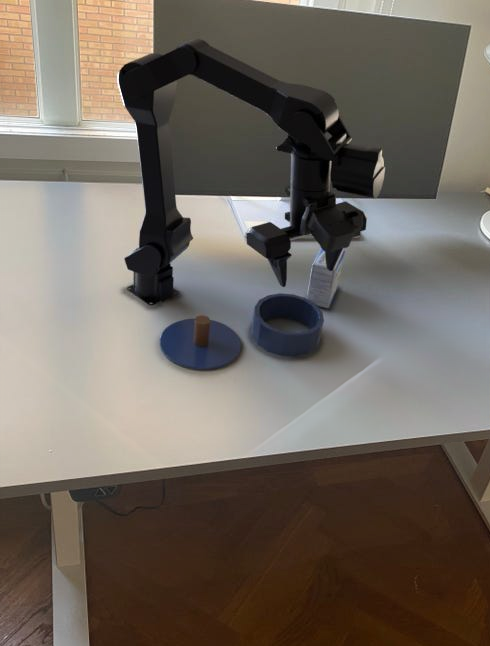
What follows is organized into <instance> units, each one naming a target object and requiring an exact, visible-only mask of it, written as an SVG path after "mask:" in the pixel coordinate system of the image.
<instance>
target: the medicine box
mask: <svg viewBox="0 0 490 646" xmlns="http://www.w3.org/2000/svg"><path fill="white" fill-rule="evenodd" d="M345 254H346V250H345V249H343V250H342V252H341V254H340V256H339V258H338V260H337V263H336V265H335V267H334V269H333V271H329V270H328V269H327V266H326V259H325V251H323V250H322V248H321V247H320V250H319V252H318V254H317V255H316V258H315V259H314V262H313V263H312V264H311V270H310V275H309V282H308V287H307V292H306V299H308V300H310V301H311V302H313V303H315V304H316V305H317V306H318V307H319V308H324V309H330V306H331V303H332V302H333V300H334V297H335V294H336V292H337V290H338V287H339V284H340V283H339V282H340V278H341V274H342V273H341V272H342V268H343V263H344V259H345Z"/></svg>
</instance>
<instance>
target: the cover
mask: <svg viewBox="0 0 490 646" xmlns="http://www.w3.org/2000/svg"><path fill="white" fill-rule="evenodd" d="M159 348H160V351H161V353H162V354H163V355H164V356H165V358H166V359H167V360H169V361H170V362H172V363H173V364H175V365H177V366H179V367H182V368H185V369H189V370H194V371H213V370H218V369H221V368H224V367H226V366H228V365H230V364H231V363H233V362H234V361H235V360H236V359H237V358H238V357H239V355H240V353H241V349H242V343H241V339H240V337H239V335H238V334H237V333H236V331H234V330H233V329H232V328H231V327H230V326H228V325H227V324H224V323H222V322H220V321H217V320H214V319H211V318H210V317H209V316H207V315H203V314H201V315H197V316H196V317H195V318H194V317H192V318H186V319H181V320H178V321H176V322H173V323H171V324H169V325H168V326H167V327H165V328H164V330H163V331H162V332H161V335H160V336H159Z"/></svg>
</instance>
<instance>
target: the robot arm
mask: <svg viewBox="0 0 490 646" xmlns="http://www.w3.org/2000/svg"><path fill="white" fill-rule="evenodd" d="M187 76H192V77H194V78H196V79H198V80H200V81H201V82H204V83H206V84H208V85H209V86H212V87H213V88H216V89H218V90H220V91H222V92H224V93H225V94H227V95H230V96H231V97H234V98H236V99H237V100H239V101H242V102H244V103H245V104H247V105H249V106H251V107H253V108H254V109H255V108H256V109H257V110H259V111H261V112H262V113H264V114H266V115H267V117H269V118H270V119H271V120H272V122H273V123H274V124H275V125H276V127H277V128H278V129H280V130H281V131H282V132H283V133H285V134H287V136H286V137H285V138H284V140H283V141H282V142H281V143H279V144H278V145H277V146H276V147H275V148H276V151H277V152H280V153H286V154H290V185H287V186H285V187H284V194H285V195H287V196H288V197H289V211H286V212H284V220H286V222H288V223H289V226H285V227H282V228H280V227H279V226H277V225H276V224H275V223H273V222H271V221H267V222H264V223H261V224H257V225H253V226H250V227H249V228H248V229H247V231H246V245H247V246H249V247H250V248H251V249H253V250H254V251H255V252H257V253H258V254H260V255H261V256H262V257H264V258H265V259H267V261H268V263H269V265H270V267H271V269H272V271H273V273H274V275H275V278H276V280H277V282H278V284H279V286H281V287H282V288H285V287H286V286H287V279H288V277H287V276H288V260H289V259H290V258H291V257H292V256H293V254H291V253H290V250H291V249H292V241H294V240H298V239H301V238H305V237H308V236H312V237H313V239H314V240H315V241H316V242H317V243H318V245H319V246H320V249H321V248H322V250H323V251H325V259H326V266H327V269H328V270H329V271H333V269H334V267H335V265H336V263H337V260H338V258H339V256H340V254H341V252H342V250H344V249H347V248H349V247H350V245H351V242H352V240H353V239H354V238H356V237H360V236H361V233H362V232H364V231H366V229H367V222H368V218H367V215H366V213H365V212H364V211H363V210H362V209H360V208H358V207H357V206H355V205H353V204H351V203H349V202H348V201H342V202H337V198H336V194H335V193H334V192H332V191H331V190H330V189H331V187H332V189H335V190H336V191H337V192H341V193H346V194H351V195H356V196H359V197H360V196H361V197H365V198H372V199H377V198H378V197H379V196H380V193H381V191H382V188H383V184H384V179H385V172H386V166H385V162H384V161H385V159H384V158H383V156H382V155H383V149H382V147H376V146H364V145H360V144H359V145H358V144H353V143H351V141H352V139H353V138H352V135H351V134H350V132H349V130H348V128H347V127H346V125H345V123H344V122H343V119H342V118H341V116H340V115H339V107H338V105H337V103H336V98H335V97H333V96H332V94H330V93H329V92H327V91H325V90H321V89H318V88H316V87H312V86H309V85H306V84H298V83H290V82H285V81H282V80H279V79H278V78H274V77H273V76H272V75H269V74H267V73H266V72H263V71H261V70H259V69H257V68H255V67H253V66H251V65H249V64H247V63H246V62H243V61H241V60H239V59H237V58H235V57H234V56H231V55H229V54H227V53H226V52H224V51H222V50H220V49H217V48H216V47H213V46H212V45H210V44H209V42H207V41H206V40H203V39H200V38H192V39H189V40H187V41H186V42H183V43H181V44H179V45H178V46H177V47H176V48H174V49H173V50H170V51H169V52H166V53H164V54H161V53H158V52H151V53H149V54H146V55H143V56H142V57H141V56H140V57H139V58H136V59H134V60H131V61H130V62H127V63H124V64H123V65H122V66H121V68H120V69H119V70H118V72H117V85H118V89H119V92H120V96H121V99H122V104H123V106H124V108H125V109H126V111H127V112H128V113H129V115H130V117H131V118H132V120H133V122H134V123H135V124H134V125H135V130H136V139H137V147H138V157H139V166H140V175H141V183H142V191H143V200H144V208H145V211H144V216H143V219H142V223H141V226H140V229H139V232H138V234H139V235H138V247H136V248H135V249H134V250H132V251H131V252H130V253H129V254H127V255H126V256H125V257H124V262H125V266H126V268H127V270H128V271H131V272H133V274H132V275H133V279H132V280H133V283H132V284H131V285H129V286H126V288H125V289H126V291H128V292H129V293H131V294H132V295H134V296H135V297H137V298H138V299H140V300H141V301H143V302H144V303H146V305H149V306H154V305H156V304H158V303H162V302H165V301H167V300H169V299H171V298H173V297H174V296H175V295H178V294H179V291H178V290H177V289H176V288H174V276H173V275H174V267H173V266H171V265H172V264H171V263H172V262H173V261H175V260H176V259H177V258H178V257H179V256H180V255H182V253H185V251H187V250H188V248H189V246H190V244H191V243H190V242H191V241H193V240H194V236H193V234H192V230H191V227H192V219H191V218H190V217H183V215H182V214H181V212H180V211H179V210H178V207H177V198H176V197H177V196H176V187H175V185H176V184H175V175H174V174H175V173H174V165H173V163H174V162H173V151H172V141H171V139H172V138H171V129H170V128H171V127H170V117H171V115H172V112H173V108H174V106H175V102H176V99H177V87H178V80H180V79H182V78H184V77H187ZM326 134H329V135H330V137H329V138H328V139H327V137H326Z"/></svg>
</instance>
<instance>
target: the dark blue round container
mask: <svg viewBox="0 0 490 646" xmlns="http://www.w3.org/2000/svg"><path fill="white" fill-rule="evenodd" d="M278 317H279V318H290V319H293V320H295V321H299V322H301V323H303V324H304V325H306V326H308V327H309V330H305V331H304V330H303V331H298V332H295V331H286V330H285V331H284V330H282V329H278V328H275V327H273V326H271V325H270V324H268V323H267V322H265V321H266V320H268V319H272V318H278ZM324 323H325V318H324V312H323V311H322V310H321V307H320V306H317V305H316V304H315V303H313V302H311V301H310V300H308V299H307V297H304V296H301V295H297V294H293V293H284V292H283V293H280V292H279V293H274V294H268V295H266V296H264V297H262V298H260V299H259V300H258V301H257V302H256V303H255V305H254V307H253V313H252V321H251V328H250V329H251V338H252V339H253V340H254V342H255V343H256V345H257V346H259V347H260V348H262V349H263V350H265V351H266V352H268V353H271V354H274V355H277V356H280V357H301V356H305V355H308V354H310V353H311V352H313V351H315V350H316V349H317V347H318V345H319V343H320V342H321V337H322V332H323V327H324Z"/></svg>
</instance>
